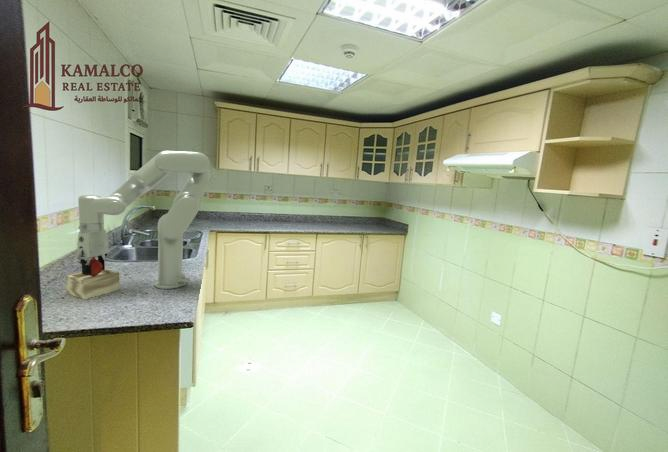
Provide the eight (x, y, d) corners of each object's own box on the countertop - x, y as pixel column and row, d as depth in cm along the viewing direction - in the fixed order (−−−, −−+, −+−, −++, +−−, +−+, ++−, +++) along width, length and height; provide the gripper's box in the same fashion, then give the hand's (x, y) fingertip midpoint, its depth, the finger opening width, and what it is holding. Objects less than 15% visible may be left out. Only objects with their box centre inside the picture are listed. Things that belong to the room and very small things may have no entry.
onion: (81, 279, 121) (80, 259, 120) (88, 274, 127) (87, 255, 125) (99, 278, 123) (98, 259, 121) (105, 274, 128) (104, 255, 127)
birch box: (119, 290, 129) (119, 272, 128) (84, 300, 117) (83, 281, 116) (102, 284, 133) (101, 267, 132) (66, 294, 121) (65, 275, 120)
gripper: (81, 231, 113) (83, 279, 116) (118, 224, 130) (119, 267, 133) (62, 229, 113) (64, 277, 116) (101, 223, 130) (102, 265, 133)
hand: (93, 271), depth 124 cm, fingers closed on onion, 5 cm apart
